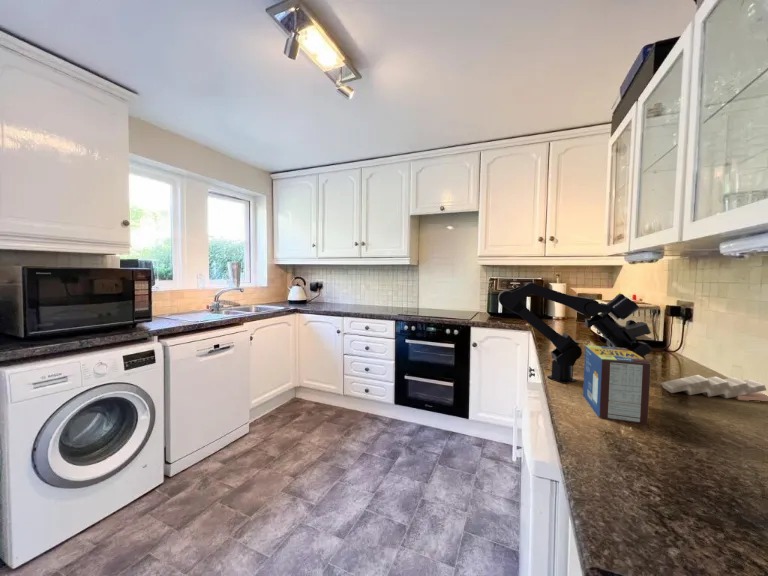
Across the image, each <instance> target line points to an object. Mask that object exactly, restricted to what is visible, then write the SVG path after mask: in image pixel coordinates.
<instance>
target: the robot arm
mask: <svg viewBox="0 0 768 576" xmlns="http://www.w3.org/2000/svg"><path fill="white" fill-rule="evenodd" d="M530 295H533V296H537V297H539V298H542V299H546V300H549V301H551V302H554V303H557V304H561V305H564V306H566V307H567V308H569V309H572V310H573V311H575V312H577V313H579V314H580V315H584V316H586V317H589V318H584V321H585V322H584V327H586V328H587V329H589V328H591V327H594V328H595V329H597V331H598V332H599V333H600V334H601V336H602V337H603V338H604V339H605V340H606V345H607V347H617V348H627V349H628V350H630V351H632V352H634V353H635V354H637V355H639V356H640V357H642V358H644V359H646V357H645V356H647V355H649V353H651V352H653V348H652V347H651V346H650V345H649V344H648V343H647V342H644V341H637V340H638V338H639V337H642V336H645V335H648V336H649V335H650V334H652V331H651V330H650V327H649V325H648V323H646V322H643V321H634V320H633V319H628V320H626V323H625V325H624V326H622V325H620V324H619V323H618V322H617V321H618V320H622V321H624V320H625V319H626V318H629V316H631V315H632V314H634V313H635V312H637V311H638V310H639V309H640V307H639V306H638V304H637V303H636V302H635V301H633V300H632V299H630V298H628V297H626V295H624V294H623V293H618V294H617V295H616V296H615V297H614V298H612V299H611V300H610V301H609V302H607V303H604V302H599V301H597V300H595V299H594V298H589V297H585V296H584V297H583V296H577V295H570V294H567V293H563V292H561V291H560V292H559V291H558V290H554V289H551V288H547V287H545V286H541V285H539V284H536V282H535V283H534V282H531V281H530V282H526V283H524V284H523V285H520V286H518V287H515V288H512V289H511V290H509V289H504V290H501V291H500V292H499V294H498V295H497V300H498V302H499V304H500V305H501V306H502V307H504V308H506V309H507V310H509V311H511V312H512V313H515V314H517V315H518V316H520V317H521V318H522V319H523V320H524V321H525V322H526V323H528V324H529V325H530V326H532V327H533V328H534V329H535V330H536V331H537V332H539V333H540V334H541V335H543V336H544V337H545V338H546V339H548V341H550V342H551V344H552V345H553V346H554V349H553V350H552V351H550V355H551V357H552V359H553V360H552V361H551V375H547V378H548V379H550V380H553V381H556V382H559V383H561V384H568V383H573V382H577V379H576V378H574V366H575V364H576V362H577V360H579V359H580V358H581V357H582V354H583V350H582V347H581V346H579V345H580V343H579V342H578V341H576V339H574V338H572V337H571V336H570V335H569V334H568V333H567V332H566V331H565V332H563V333H562V334H561V333H559V332H557V331H556V330H554V329H553V327H551V326H550V325H548V324H547V323H546V322H545V321H543V320H542V319H541V318H540V317H539V316H537V315H536V314H535V313H534V312H532V311H531V310H530V309H529V308H527V306H525V304H524V303H523V302H522V301H521V300H523V299H525V298H527V297H529V296H530ZM616 320H617V321H616Z"/></svg>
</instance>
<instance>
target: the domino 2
mask: <svg viewBox="0 0 768 576" xmlns="http://www.w3.org/2000/svg"><path fill="white" fill-rule="evenodd" d="M706 379H708V380H709V382H710V384H711V385H709V386H704V387H699V388H694V389H690V390H685V391H683V393H685V394H687V395H688V396H692V395H698V394H703V392H708V391H713V390H718V389H723V388H728V387H730V386H729V384H728V382H727V381H725V380H723V379H724V378H723V379H722V378H721V377H718V376H709V377H706Z"/></svg>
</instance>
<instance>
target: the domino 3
mask: <svg viewBox="0 0 768 576" xmlns="http://www.w3.org/2000/svg"><path fill="white" fill-rule="evenodd" d="M723 380H725V381H727V382H728V384H729V386H730V387H728V388H723V389H718V390H713V391H708V392H703V393H702V394H703V395H704V396H706V397H708V398H710V397H715V396H720V394H724V393H729V392H734V391H738V390H743V389H748V388H749V386H748V384H747V383H746V382H744V381H743V380H741V379H739V378H736V377H734V376H733V377H732V376H731V377H728V378H723Z"/></svg>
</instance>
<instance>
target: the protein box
mask: <svg viewBox="0 0 768 576" xmlns="http://www.w3.org/2000/svg"><path fill="white" fill-rule="evenodd" d="M584 347H585V348H584V366H583V367H584V369H583V387H582V389H583V392H582V393H583V394H582V396H583V397H584V399H585V400H586V402H587V403H588V405H589V406H590V407H591V409H592V410H593V412H594V413H595V414H596V416H597V417H598V418H599V419H606V420H612V421H620V422H625V423H626V422H627V423H628V422H629V423H635V424H642V425H648V423H649V407H650V388H651V387H650V386H651V373H652V372H651V371H652V370H651V369H652V363H651V361H649V360H648V359H647V358H645V359H644V358H642V357H640V356H639V355H637V354H635V353H634V352H632V351H630V350H628V349H627V348H617V347H609V346H604V345H603V346H601V345H588V344H585V345H584Z"/></svg>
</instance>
